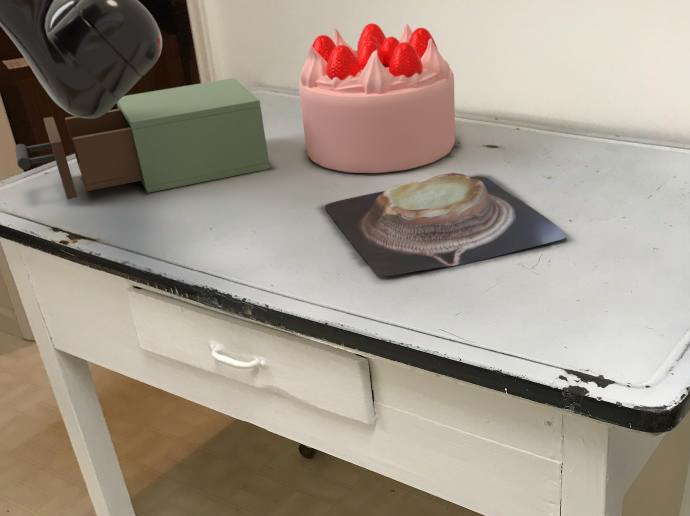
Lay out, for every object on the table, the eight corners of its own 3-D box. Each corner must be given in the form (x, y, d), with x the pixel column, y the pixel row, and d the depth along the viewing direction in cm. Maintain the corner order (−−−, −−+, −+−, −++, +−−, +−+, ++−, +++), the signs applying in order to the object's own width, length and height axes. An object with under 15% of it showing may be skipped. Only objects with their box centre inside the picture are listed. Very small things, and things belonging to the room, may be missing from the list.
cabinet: (147, 193, 104) (130, 122, 100) (131, 163, 114) (115, 97, 109) (270, 168, 109) (259, 100, 104) (244, 141, 119) (234, 77, 114)
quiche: (570, 240, 86) (572, 203, 84) (380, 282, 81) (377, 243, 79) (484, 175, 103) (484, 142, 100) (322, 206, 98) (318, 172, 95)
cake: (276, 160, 111) (259, 45, 103) (367, 117, 124) (359, 12, 116) (399, 185, 102) (391, 60, 93) (484, 136, 115) (484, 22, 107)
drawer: (30, 207, 100) (12, 150, 97) (24, 177, 109) (7, 124, 105) (187, 176, 106) (176, 121, 102) (170, 150, 115) (159, 98, 111)
